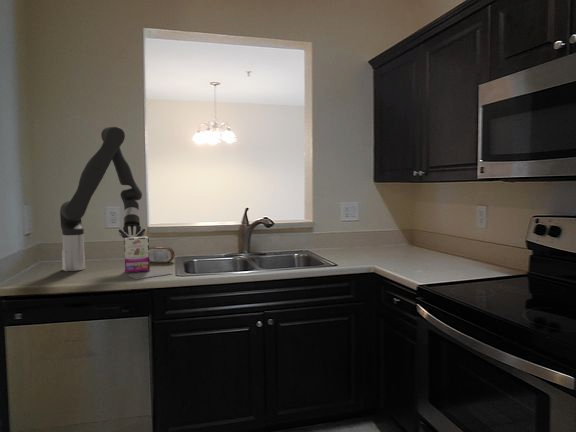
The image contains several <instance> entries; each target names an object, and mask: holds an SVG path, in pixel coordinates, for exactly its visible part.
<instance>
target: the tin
mask: <svg viewBox="0 0 576 432" xmlns="http://www.w3.org/2000/svg"><path fill="white" fill-rule="evenodd" d="M174 258H175V250H174V249H173V248H171V247H169V246H156V245H155V246H151V247H149V262H150V263H159V264H160V263H161V264H164V263H165V264H167V263H169V262H172V261H173V260H174Z"/></svg>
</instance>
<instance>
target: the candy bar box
mask: <svg viewBox="0 0 576 432" xmlns="http://www.w3.org/2000/svg"><path fill="white" fill-rule="evenodd" d="M149 248H150V238H149V236H142V237H133V236H132V237H126V238H123V251H124V252H123V254H124V272H125V274H129V273H130V274H131V273H145V272H151V271H150V269H151V268H150V267H151V266H150V263H151V262H150V261H149Z"/></svg>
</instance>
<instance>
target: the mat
mask: <svg viewBox="0 0 576 432" xmlns="http://www.w3.org/2000/svg"><path fill="white" fill-rule="evenodd" d="M169 275H171V276H172V275H173V273H172V272H170V271H167V270H163V269H161V270H156V271H146V272H138V273H135V274H128V275H127V276H128V277H130V278H132V279H133V280H141V279H142V280H143V279H148V278H149V279H150V278H156V277H162V276H163V277H164V276H169Z"/></svg>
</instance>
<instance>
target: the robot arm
mask: <svg viewBox="0 0 576 432" xmlns="http://www.w3.org/2000/svg"><path fill="white" fill-rule="evenodd" d="M100 134H101V135H100V136H101V140H102V143H101V144H102V145H101V146H100V147H99V149H98V150H97V152H95V153H94V154H93V156H92V157H90V159H89V160H88V162H87V163H86V164H85V166H84V168H83V170H82V172H81V173H80V177H79V182H78V186H77V189H76V191H75V193H74V194H73V196H72V197H71V199H70V200H67V201H65V202H63V203H62V204H61V207H60V211H59V217H60V219H59V220H60V228H61V233H62V234H61V235H62V250H61V260H62V262H61V263H62V265H61V266H62V270H63V271H65V272H77V271H82V270H85V269H86V260H85V258H86V256H85V254H86V252H85V229H84V226H83V223H82V218H83V217H84V216H85V213H86V211H87V209H88V206H89V204H90V201H91V199H92V197H93V195H94V194H95V192H96V190H97V188H98V187H99V184H100V183H101V181H102V179H103V178H104V176H105V174H106V173H107V170H108V168H109V166H110V164H111V163H113V166H114V169H115V171H116V174H117V178H118V181H119V184H120V185H122V186H129V187H131V188H125V189H123V190H122V191H120V194H119V195H120V199H121V201H122V202H123V212H124V213H123V227H122V229H118V235H120V236H121V237H122V238H123V239H124V238H126V237H144V235H145V234H146V229H145V228H142V226H141V219H140V218H141V216H140V211H139V210H140V209H139V208H140V207H139V202H137V201H140V200H141V199H142V198H143V192H142V191H141V190H142V189H140V188H139V186H138V184H137V183H136V181H135V179H134V176H133V173H132V169H131V167H130V165H129V163H128V161H127V160H126V158H125V156H124V155H123V153H122V150H121V146H122V144H123V143H124V141H125V138H126V134H125V131H124V129H122V128H121V127H120V126H108V127H104V128H103V130H101V133H100Z"/></svg>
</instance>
